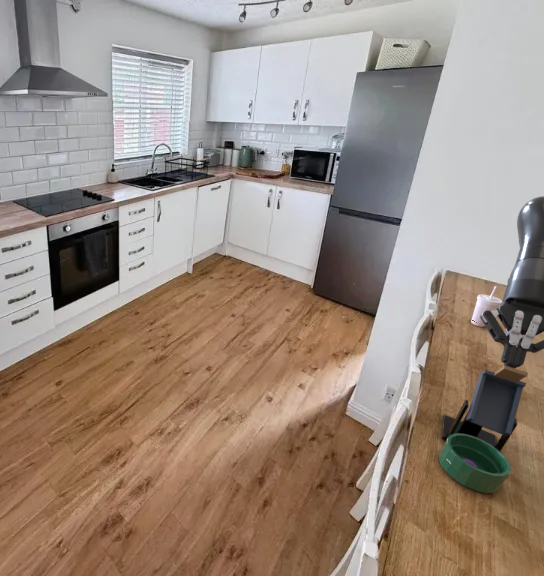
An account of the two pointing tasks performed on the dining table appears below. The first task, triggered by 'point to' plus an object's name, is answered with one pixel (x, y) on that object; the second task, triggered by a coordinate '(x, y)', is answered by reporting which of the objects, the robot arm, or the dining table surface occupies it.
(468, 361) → the dining table surface
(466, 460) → the ball
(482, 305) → the smoothie
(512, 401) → the chute
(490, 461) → the bowl
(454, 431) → the stand
